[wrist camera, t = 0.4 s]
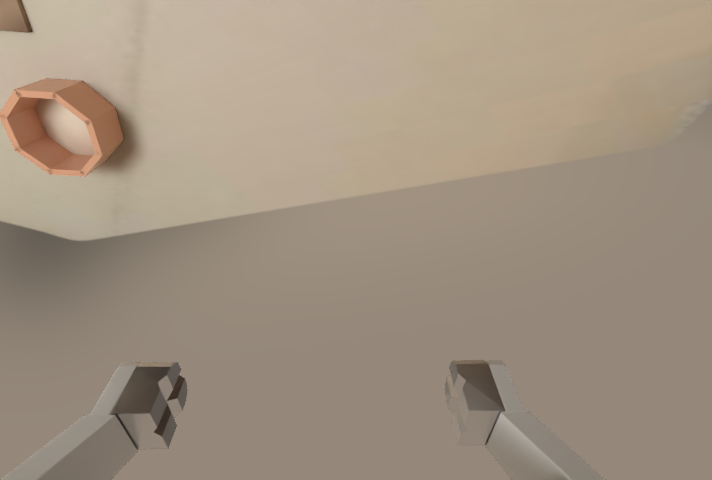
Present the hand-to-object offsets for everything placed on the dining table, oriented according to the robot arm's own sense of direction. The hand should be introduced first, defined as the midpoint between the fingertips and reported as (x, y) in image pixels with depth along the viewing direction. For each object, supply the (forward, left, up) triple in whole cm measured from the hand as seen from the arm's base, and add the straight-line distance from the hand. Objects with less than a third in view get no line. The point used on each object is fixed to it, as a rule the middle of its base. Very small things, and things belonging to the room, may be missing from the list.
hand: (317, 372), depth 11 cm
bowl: (+10, -36, -47) cm, 60 cm away
